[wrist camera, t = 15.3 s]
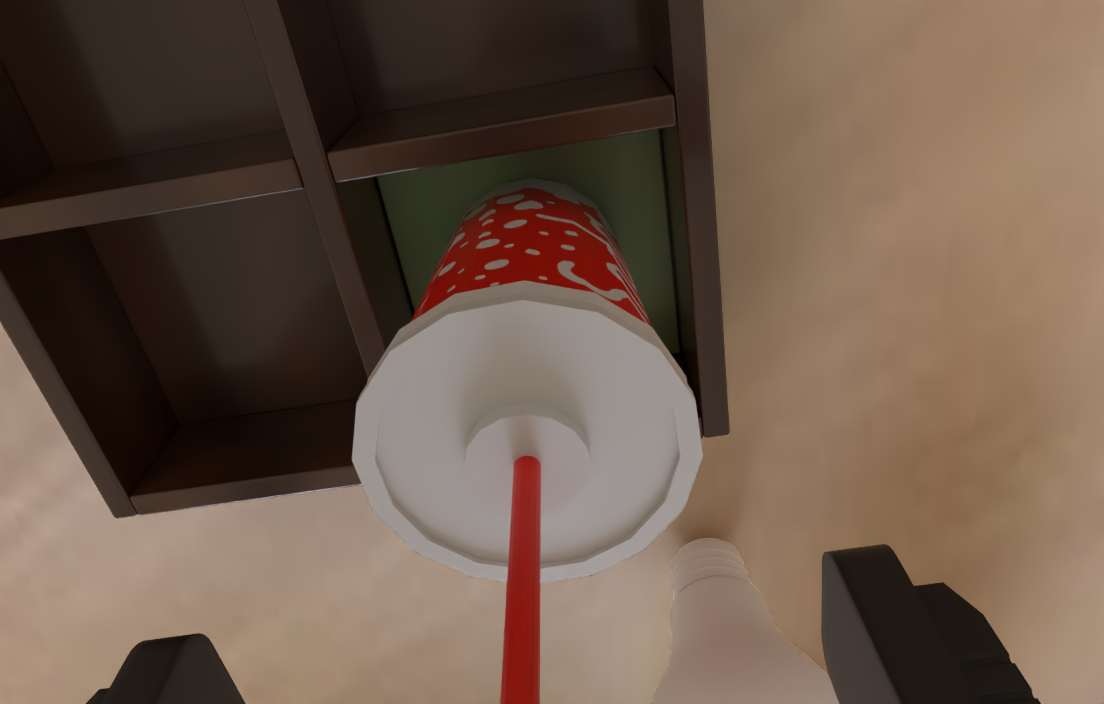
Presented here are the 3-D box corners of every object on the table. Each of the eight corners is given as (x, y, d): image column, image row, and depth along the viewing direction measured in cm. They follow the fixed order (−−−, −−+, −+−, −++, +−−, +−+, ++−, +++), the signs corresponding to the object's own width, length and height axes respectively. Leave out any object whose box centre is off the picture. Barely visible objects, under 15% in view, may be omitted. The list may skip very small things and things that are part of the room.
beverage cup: (674, 311, 22) (835, 799, 10) (481, 383, 23) (411, 900, 11) (597, 110, 19) (688, 443, 7) (381, 202, 20) (139, 627, 8)
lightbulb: (687, 454, 26) (772, 776, 16) (823, 529, 27) (974, 861, 18) (584, 567, 28) (604, 904, 18) (714, 630, 30) (795, 968, 20)
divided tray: (176, 434, 25) (114, 520, 21) (-141, -202, 17) (-328, -236, 13) (702, 357, 24) (730, 435, 20) (644, -372, 15) (675, -459, 12)
